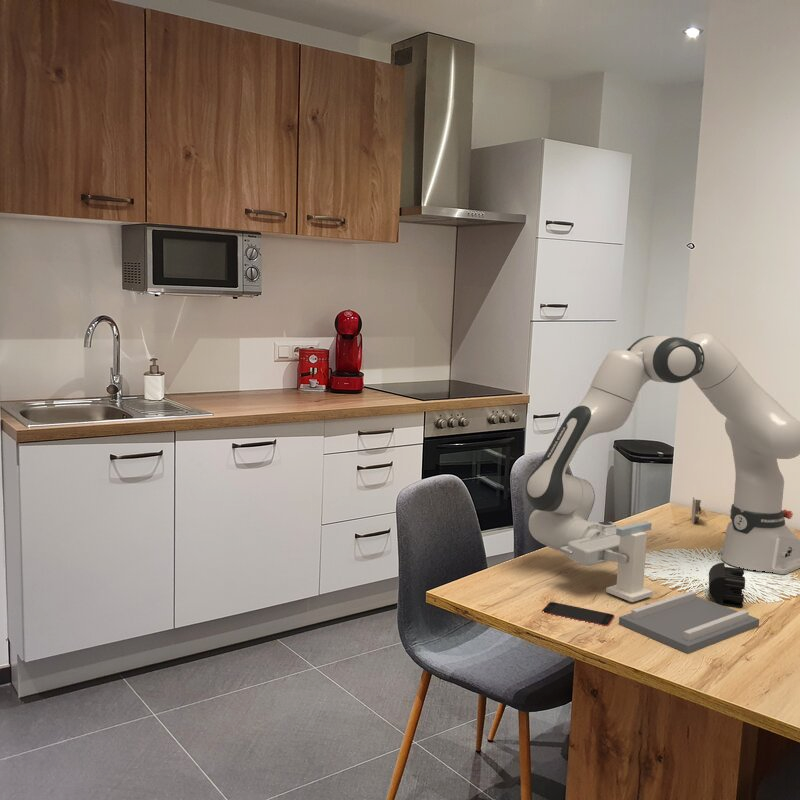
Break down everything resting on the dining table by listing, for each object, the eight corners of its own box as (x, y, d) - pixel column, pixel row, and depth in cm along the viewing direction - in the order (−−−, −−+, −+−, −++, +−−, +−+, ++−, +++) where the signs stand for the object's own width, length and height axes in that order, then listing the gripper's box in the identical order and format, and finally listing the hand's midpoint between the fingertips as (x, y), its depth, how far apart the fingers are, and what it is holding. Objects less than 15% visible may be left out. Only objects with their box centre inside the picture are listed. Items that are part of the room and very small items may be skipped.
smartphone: (550, 600, 178) (615, 614, 172) (549, 603, 178) (615, 617, 172) (540, 611, 172) (608, 626, 166) (540, 614, 172) (607, 628, 166)
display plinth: (690, 600, 182) (691, 587, 181) (758, 626, 169) (760, 612, 169) (618, 624, 168) (619, 609, 167) (687, 653, 155) (688, 638, 154)
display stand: (601, 593, 183) (606, 524, 181) (630, 584, 189) (635, 518, 186) (627, 603, 177) (632, 533, 175) (656, 594, 183) (662, 526, 181)
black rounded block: (707, 589, 189) (709, 560, 189) (740, 594, 187) (743, 565, 186) (707, 604, 180) (710, 574, 179) (742, 609, 178) (745, 579, 177)
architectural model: (703, 522, 246) (705, 497, 245) (705, 528, 240) (708, 503, 239) (691, 521, 247) (693, 496, 246) (693, 527, 240) (695, 502, 239)
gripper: (555, 534, 185) (604, 551, 174) (615, 520, 197) (665, 536, 186) (554, 561, 186) (602, 580, 175) (614, 546, 198) (662, 563, 187)
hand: (635, 557), depth 181 cm, fingers closed on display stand, 4 cm apart
